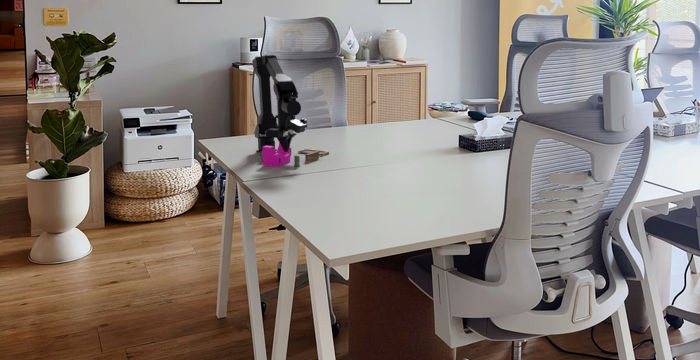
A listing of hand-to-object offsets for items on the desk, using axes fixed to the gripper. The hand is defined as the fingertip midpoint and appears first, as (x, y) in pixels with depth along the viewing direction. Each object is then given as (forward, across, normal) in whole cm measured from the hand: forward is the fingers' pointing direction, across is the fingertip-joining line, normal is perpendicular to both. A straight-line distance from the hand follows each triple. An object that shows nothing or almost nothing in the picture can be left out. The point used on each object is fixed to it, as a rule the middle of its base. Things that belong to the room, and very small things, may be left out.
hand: (286, 152), depth 287 cm
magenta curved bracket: (+4, -1, +2) cm, 5 cm away
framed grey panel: (+4, +8, 0) cm, 9 cm away
